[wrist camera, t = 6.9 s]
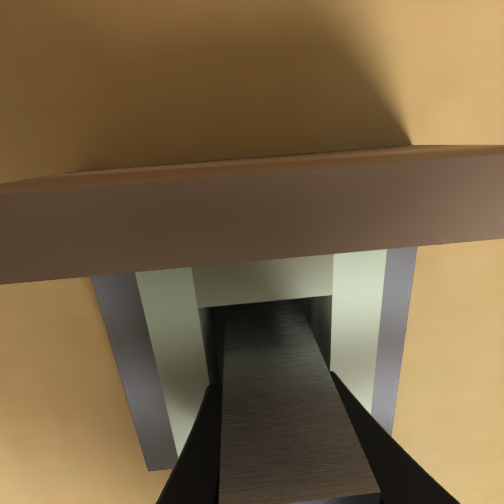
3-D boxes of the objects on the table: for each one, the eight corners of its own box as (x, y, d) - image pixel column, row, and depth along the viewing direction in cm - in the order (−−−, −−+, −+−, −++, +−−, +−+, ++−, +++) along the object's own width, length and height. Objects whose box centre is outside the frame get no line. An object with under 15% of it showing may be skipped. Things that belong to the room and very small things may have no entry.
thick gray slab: (294, 386, 13) (361, 642, 6) (237, 392, 13) (244, 658, 6) (291, 285, 11) (380, 491, 4) (226, 291, 11) (218, 512, 4)
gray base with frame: (380, 425, 15) (466, 586, 10) (153, 451, 15) (106, 635, 9) (413, 145, 10) (624, 144, 5) (76, 171, 10) (-122, 204, 4)
